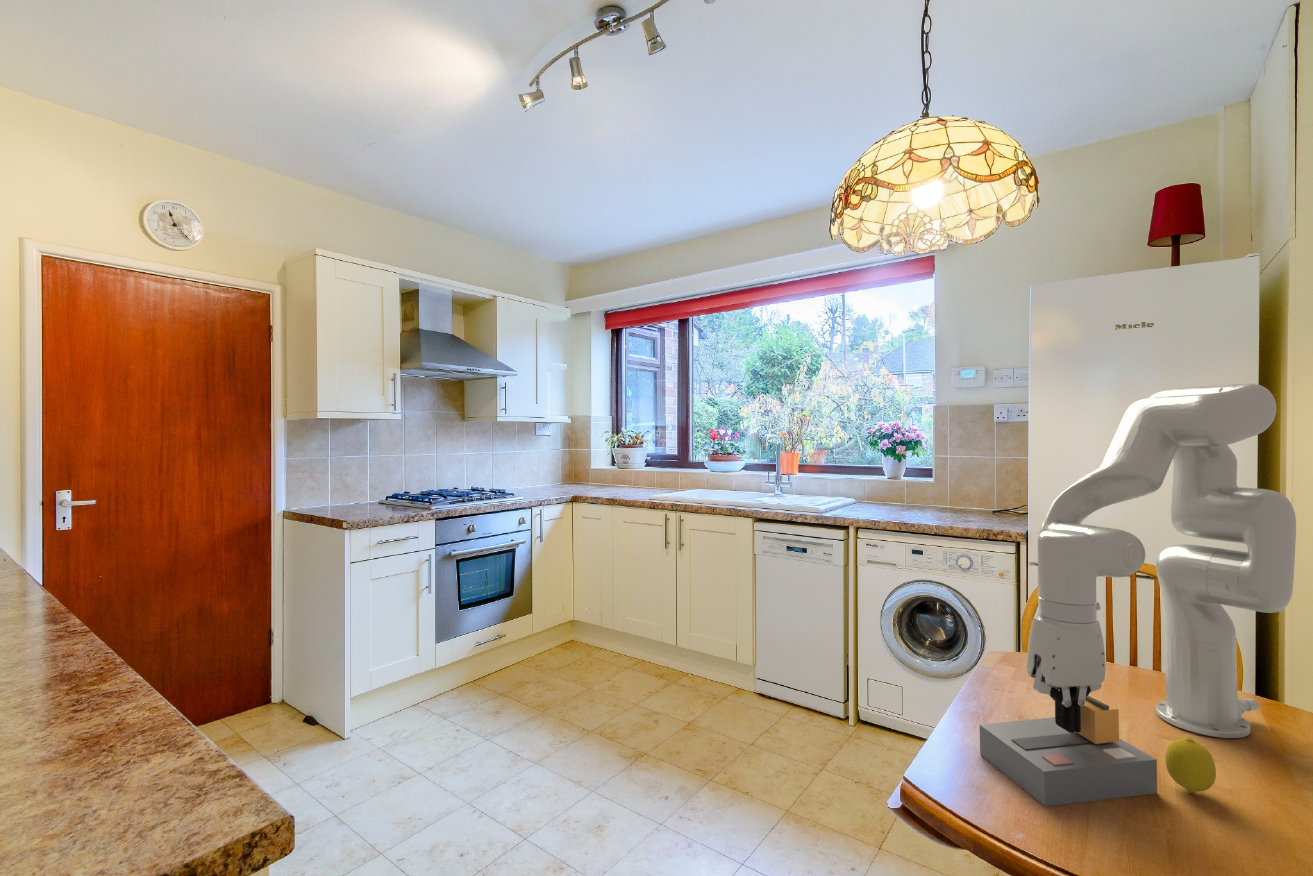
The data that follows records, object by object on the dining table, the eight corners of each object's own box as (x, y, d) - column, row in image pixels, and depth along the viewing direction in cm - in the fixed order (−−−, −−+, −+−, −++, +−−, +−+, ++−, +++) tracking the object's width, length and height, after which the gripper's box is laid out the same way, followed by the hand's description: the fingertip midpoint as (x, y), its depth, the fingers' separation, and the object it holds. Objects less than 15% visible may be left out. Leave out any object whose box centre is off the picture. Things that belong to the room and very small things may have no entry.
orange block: (1091, 725, 97) (1090, 691, 97) (1119, 741, 92) (1118, 705, 92) (1069, 728, 96) (1068, 693, 96) (1095, 743, 91) (1094, 707, 91)
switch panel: (1078, 744, 102) (1078, 713, 102) (1157, 793, 88) (1156, 758, 88) (980, 754, 99) (979, 723, 99) (1044, 806, 86) (1044, 770, 86)
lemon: (1156, 781, 91) (1155, 729, 91) (1193, 781, 90) (1192, 728, 90) (1187, 804, 85) (1186, 748, 85) (1227, 804, 85) (1226, 747, 85)
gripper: (1090, 602, 98) (1091, 714, 98) (1005, 606, 96) (1006, 720, 96) (1131, 615, 91) (1132, 737, 91) (1040, 620, 89) (1042, 744, 89)
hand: (1067, 728), depth 94 cm, fingers closed
